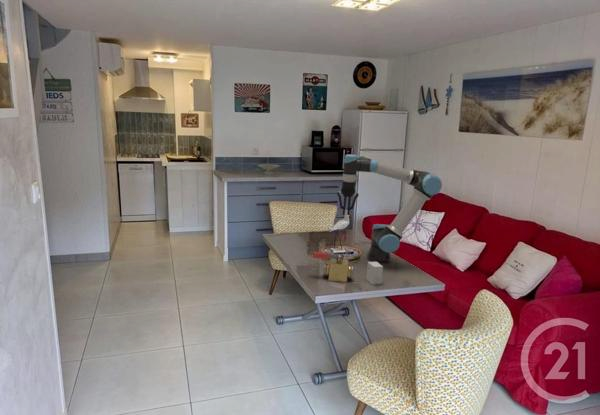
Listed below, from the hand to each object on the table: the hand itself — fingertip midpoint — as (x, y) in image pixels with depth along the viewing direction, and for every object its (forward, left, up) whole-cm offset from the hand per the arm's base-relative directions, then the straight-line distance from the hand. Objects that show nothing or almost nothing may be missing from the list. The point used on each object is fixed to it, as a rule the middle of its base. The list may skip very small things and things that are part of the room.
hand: (345, 220), depth 247 cm
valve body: (+2, +22, -28) cm, 36 cm away
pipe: (+2, +22, -28) cm, 36 cm away
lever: (+8, +22, -17) cm, 29 cm away
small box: (-18, +22, -29) cm, 40 cm away
